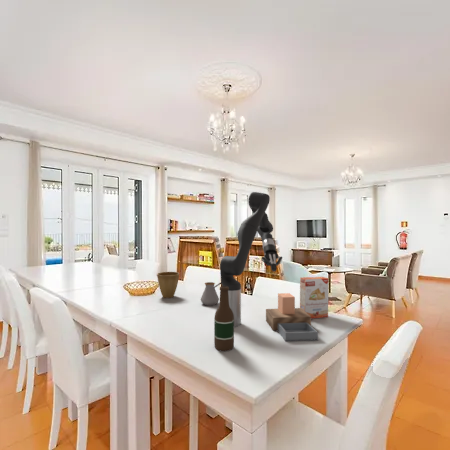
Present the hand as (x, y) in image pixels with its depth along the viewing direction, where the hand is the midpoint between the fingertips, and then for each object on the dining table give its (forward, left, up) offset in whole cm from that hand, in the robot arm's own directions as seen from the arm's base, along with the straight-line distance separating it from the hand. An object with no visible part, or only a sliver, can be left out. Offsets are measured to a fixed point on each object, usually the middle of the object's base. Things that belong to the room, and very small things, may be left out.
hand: (274, 270), depth 163 cm
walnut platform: (0, -24, -23) cm, 33 cm away
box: (0, -37, -23) cm, 44 cm away
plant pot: (-64, +38, -23) cm, 78 cm away
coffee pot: (-32, +20, -23) cm, 44 cm away
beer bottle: (-33, -47, -23) cm, 62 cm away
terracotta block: (0, -22, -17) cm, 27 cm away
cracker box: (+18, -13, -23) cm, 32 cm away
